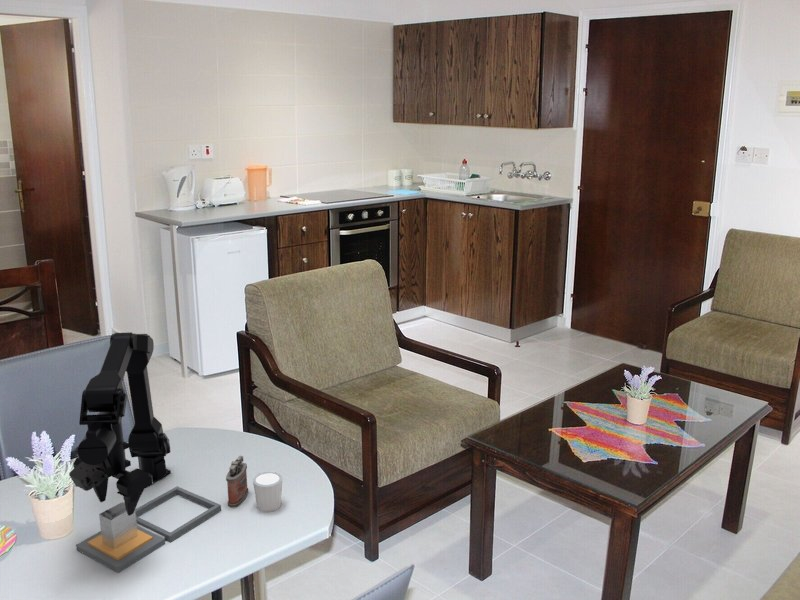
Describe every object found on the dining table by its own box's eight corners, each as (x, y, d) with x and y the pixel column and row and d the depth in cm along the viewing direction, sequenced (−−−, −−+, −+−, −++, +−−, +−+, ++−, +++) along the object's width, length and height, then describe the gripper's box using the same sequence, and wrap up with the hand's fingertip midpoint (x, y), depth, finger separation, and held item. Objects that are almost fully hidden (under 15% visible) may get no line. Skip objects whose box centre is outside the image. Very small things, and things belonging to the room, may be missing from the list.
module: (102, 543, 162) (98, 512, 160) (126, 529, 167) (122, 499, 165) (114, 549, 160) (110, 518, 158) (138, 535, 165) (134, 505, 163)
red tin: (238, 508, 179) (235, 470, 176) (224, 506, 179) (222, 468, 177) (251, 490, 186) (249, 453, 184) (238, 489, 187) (236, 452, 184)
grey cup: (258, 515, 176) (256, 488, 174) (251, 500, 182) (249, 474, 180) (287, 509, 179) (285, 482, 177) (279, 494, 185) (278, 469, 183)
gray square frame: (125, 520, 174) (125, 514, 173) (177, 491, 186) (177, 486, 185) (170, 542, 166) (169, 536, 165) (221, 510, 178) (220, 504, 177)
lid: (76, 549, 163) (75, 542, 163) (127, 521, 174) (126, 514, 173) (118, 572, 156) (117, 565, 155) (168, 541, 166) (168, 534, 166)
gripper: (45, 444, 155) (55, 511, 160) (103, 469, 146) (112, 541, 150) (93, 424, 164) (101, 488, 169) (151, 447, 154) (157, 515, 159)
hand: (116, 508), depth 161 cm, fingers open, 9 cm apart
